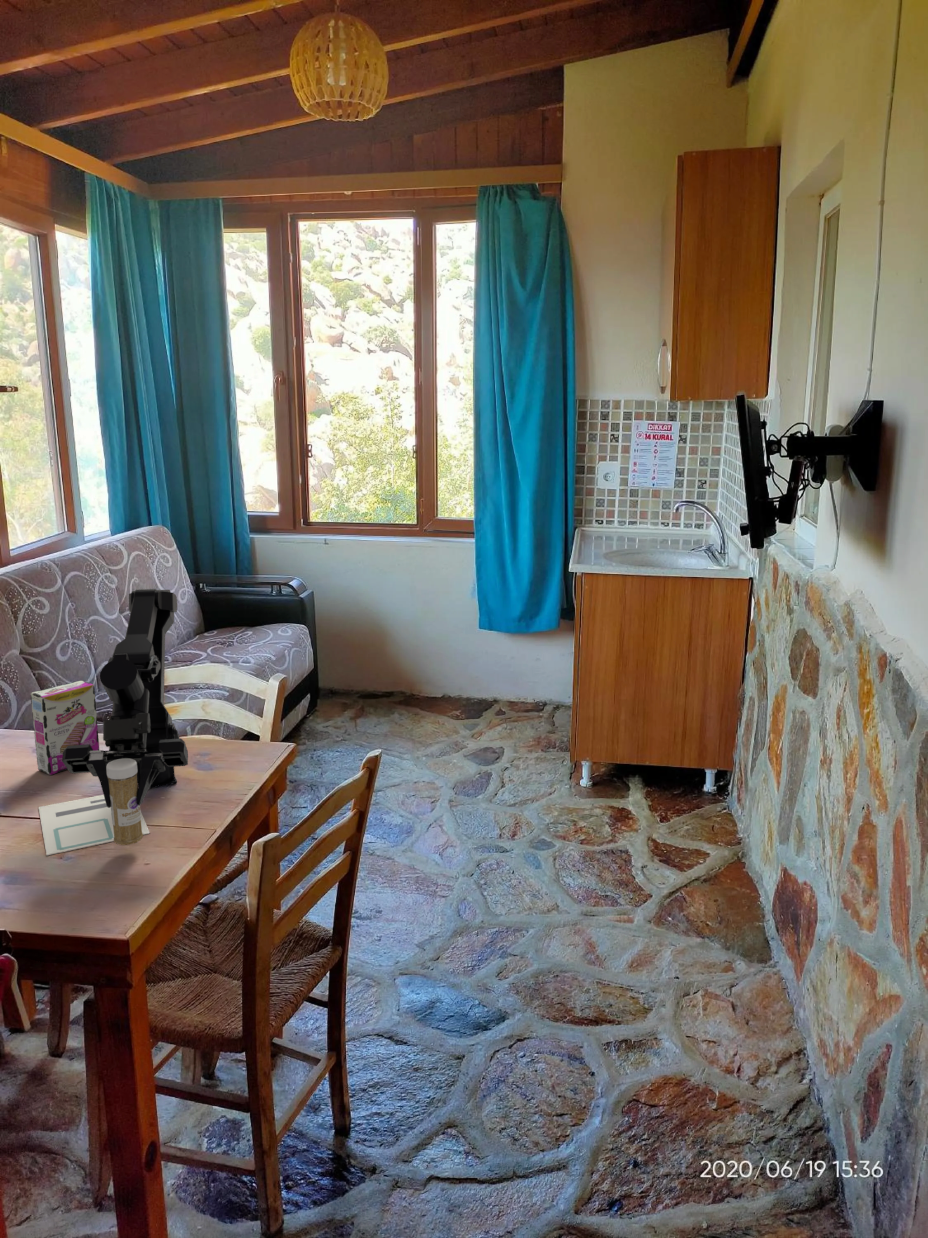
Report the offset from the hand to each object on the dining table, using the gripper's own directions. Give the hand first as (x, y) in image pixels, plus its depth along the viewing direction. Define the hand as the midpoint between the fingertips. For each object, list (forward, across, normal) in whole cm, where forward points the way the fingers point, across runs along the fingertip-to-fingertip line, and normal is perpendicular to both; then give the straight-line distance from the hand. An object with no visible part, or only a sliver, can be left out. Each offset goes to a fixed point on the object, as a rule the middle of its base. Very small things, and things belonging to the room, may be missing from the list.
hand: (123, 805), depth 139 cm
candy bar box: (-23, -18, +36) cm, 46 cm away
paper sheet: (-4, -8, +16) cm, 19 cm away
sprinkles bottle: (+4, 0, +6) cm, 7 cm away
